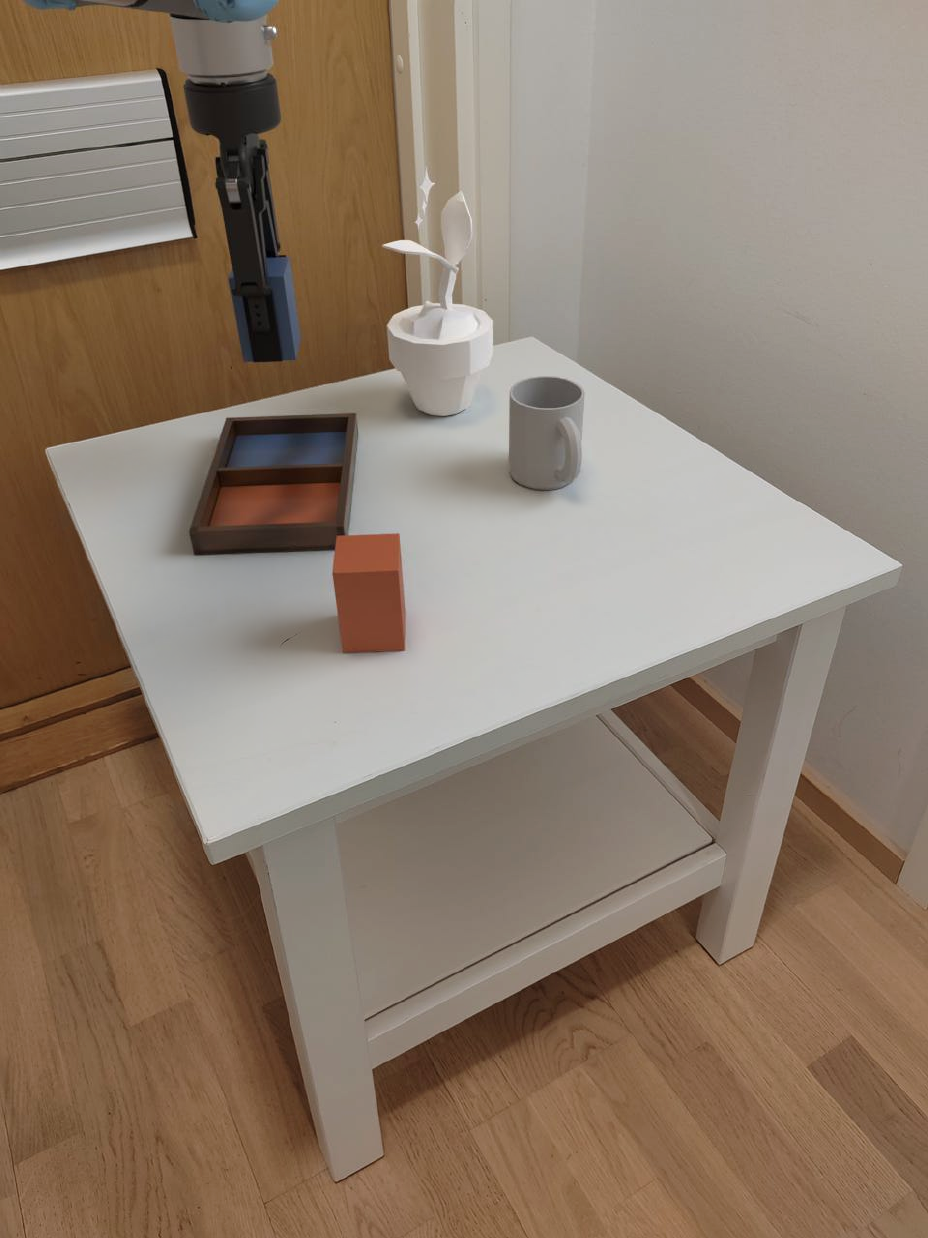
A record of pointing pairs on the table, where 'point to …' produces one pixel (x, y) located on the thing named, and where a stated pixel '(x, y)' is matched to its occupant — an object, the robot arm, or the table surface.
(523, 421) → the cup
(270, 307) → the robot arm
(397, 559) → the terracotta bar
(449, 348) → the potted plant
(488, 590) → the table surface
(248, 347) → the blue bar
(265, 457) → the tray
